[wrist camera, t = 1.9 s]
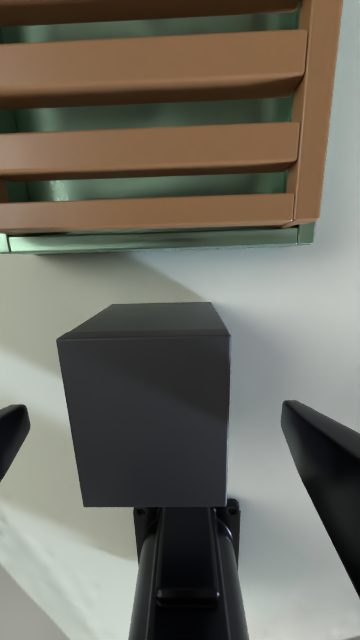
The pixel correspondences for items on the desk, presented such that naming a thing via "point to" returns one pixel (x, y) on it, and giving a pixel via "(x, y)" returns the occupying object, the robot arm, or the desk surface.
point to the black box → (149, 405)
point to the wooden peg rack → (163, 123)
